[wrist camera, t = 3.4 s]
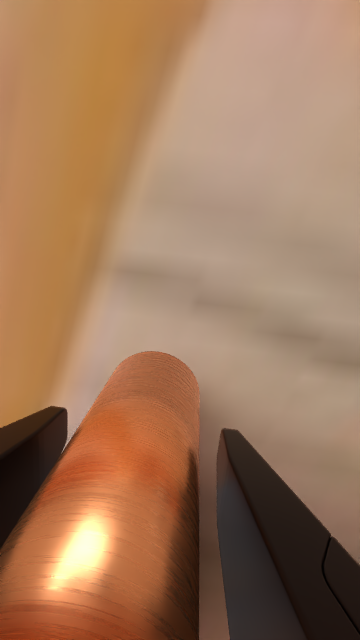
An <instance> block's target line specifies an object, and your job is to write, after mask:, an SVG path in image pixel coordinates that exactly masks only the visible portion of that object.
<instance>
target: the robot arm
mask: <svg viewBox="0 0 360 640" xmlns="http://www.w3.org/2000/svg"><path fill="white" fill-rule="evenodd" d="M66 440H67V410H66V409H65V408H63V407H55V406H50V407H48V408H45V409H43V410H41V411H39V412H36V413H34V414H32V415H29V416H27V417H25V418H23V419H20V420H18V421H16V422H14V423H11V424H9V425H7V426H4V427H2V428H0V549H1V547H2V546H3V544H4V543H5V541H6V540H7V538H8V536H9V535H10V533H11V532H12V530H13V529H14V527H15V525H16V524H17V522H18V521H19V519H20V518H21V516H22V515H23V513H24V511H25V510H26V508H27V507H28V505H29V504H30V502H31V501H32V499H33V497H34V496H35V494H36V493H37V491H38V490H39V488H40V486H41V485H42V483H43V482H44V480H45V479H46V477H47V476H48V474H49V472H50V471H51V469H52V468H53V466H54V465H55V463H56V462H57V460H58V458H59V457H60V455H61V453H62V450H63V448H64V446H65V443H66ZM217 529H218V539H219V548H220V556H221V565H222V574H223V582H224V591H225V600H226V608H227V617H228V626H229V635H230V640H360V565H359V564H358V563H357V562H356V561H355V560H354V559H353V557H352V556H351V555H350V554H349V553H348V552H347V551H346V550H345V549H344V548H343V546H342V545H341V544H340V543H339V542H338V541H337V540H336V539H335V538H334V537H331V533H330V532H329V531H328V530H327V529H326V528H325V527H324V526H323V524H322V523H321V522H320V521H319V520H318V519H317V518H316V517H315V515H314V514H313V513H312V512H311V511H310V510H309V509H308V508H307V507H306V505H305V504H304V503H303V502H302V501H301V500H300V499H299V498H298V497H297V495H296V494H295V493H294V492H293V491H292V490H291V489H290V488H289V487H288V485H287V484H286V483H285V482H284V481H283V480H282V479H281V478H280V477H279V475H278V474H277V473H276V472H275V471H274V470H273V469H272V468H271V467H270V465H269V464H268V463H267V462H266V461H265V460H264V459H263V458H262V457H261V455H260V454H259V453H258V452H257V451H256V450H255V449H254V448H253V446H252V445H251V444H250V443H249V442H248V441H247V440H246V439H245V438H244V436H243V435H242V434H241V433H240V432H239V431H238V430H235V429H226V428H223V429H222V430H221V434H220V441H219V447H218V453H217Z"/></svg>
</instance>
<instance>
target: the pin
mask: <svg viewBox="0 0 360 640" xmlns="http://www.w3.org/2000/svg"><path fill="white" fill-rule="evenodd" d="M0 640H199V387H198V383H197V380H196V378H195V376H194V374H193V373H192V371H191V370H190V369H189V368H188V367H187V365H186V364H184V363H183V362H182V361H181V360H179V359H177V358H176V357H174V356H172V355H169V354H166V353H162V352H154V351H149V352H141V353H138V354H135V355H132V356H130V357H128V358H127V359H125V360H124V361H123V362H122V363H120V364H119V366H118V367H117V368H116V369H115V371H114V373H113V374H112V376H111V377H110V379H109V380H108V382H107V383H106V385H105V387H104V388H103V390H102V391H101V393H100V394H99V396H98V398H97V399H96V401H95V402H94V404H93V405H92V407H91V408H90V410H89V412H88V413H87V415H86V416H85V418H84V419H83V421H82V423H81V424H80V426H79V427H78V429H77V430H76V432H75V433H74V435H73V437H72V438H71V440H70V441H69V443H68V444H67V446H66V447H65V449H64V451H63V452H62V454H61V455H60V457H59V458H58V460H57V462H56V463H55V465H54V466H53V468H52V469H51V471H50V472H49V474H48V476H47V477H46V479H45V480H44V482H43V483H42V485H41V486H40V488H39V490H38V491H37V493H36V494H35V496H34V497H33V499H32V501H31V502H30V504H29V505H28V507H27V508H26V510H25V511H24V513H23V515H22V516H21V518H20V519H19V521H18V522H17V524H16V525H15V527H14V529H13V530H12V532H11V533H10V535H9V536H8V538H7V540H6V541H5V543H4V544H3V546H2V547H1V549H0Z"/></svg>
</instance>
